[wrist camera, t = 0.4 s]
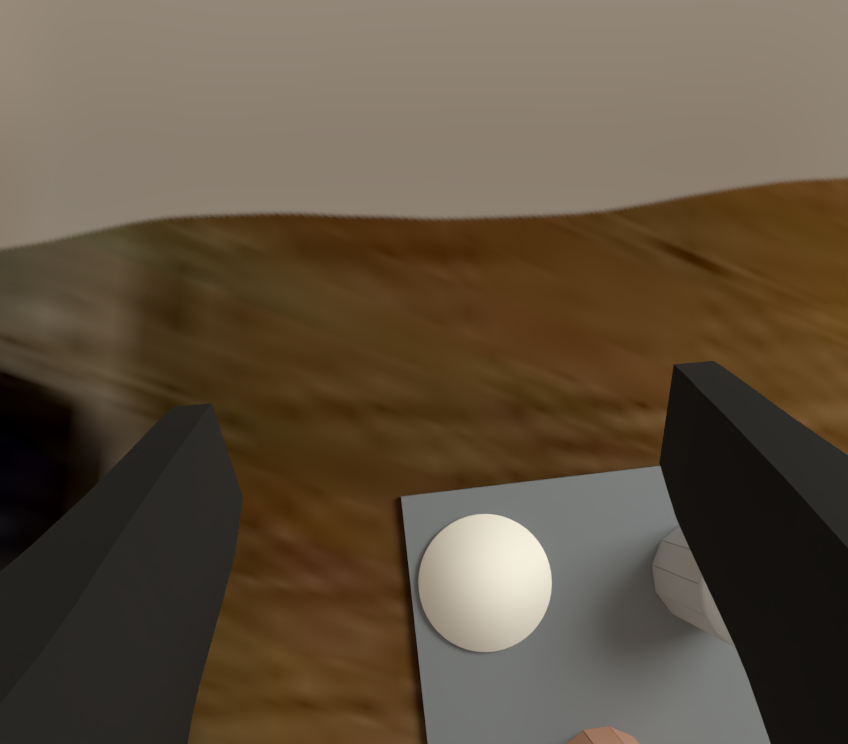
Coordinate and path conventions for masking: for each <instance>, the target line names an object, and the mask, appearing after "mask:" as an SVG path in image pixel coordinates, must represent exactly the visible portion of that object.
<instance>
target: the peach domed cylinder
mask: <svg viewBox="0 0 848 744" xmlns="http://www.w3.org/2000/svg"><path fill="white" fill-rule="evenodd" d="M566 744H640V743H639V742H638V741H637V740H636V739H635V738H634V737H633V736H631V735H628V734H626V733H624V732H621V731H619V730H617V729H615V728H612V727H610V726H606V727H600V728H593V729H586V730H582V731H581V732H580V733H579V734H577V735H576V736H575V737H574V738H573V739H571V740H570V741H569V742H568V743H566Z"/></svg>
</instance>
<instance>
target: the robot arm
mask: <svg viewBox="0 0 848 744" xmlns="http://www.w3.org/2000/svg"><path fill="white" fill-rule="evenodd" d="M660 467H661V470H662V473H663V477H664V480H665V484H666V487H667V490H668V494H669V497H670V500H671V503H672V506H673V509H674V513H675V516H676V519H677V521H678V524H679V526H680V528H681V530H682V533H683V535H684V537H685V539H686V541H687V544H688V546H689V548H690V550H691V552H692V555H693V557H694V559H695V561H696V563H697V566H698V568H699V570H700V572H701V574H702V576H703V579H704V581H705V583H706V585H707V587H708V589H709V591H710V594H711V596H712V598H713V600H714V602H715V604H716V606H717V609H718V611H719V613H720V615H721V617H722V619H723V622H724V624H725V626H726V628H727V630H728V632H729V634H730V637H731V639H732V641H733V643H734V645H735V648H736V650H737V652H738V655H739V657H740V660H741V662H742V664H743V667H744V669H745V672H746V674H747V677H748V679H749V682H750V685H751V688H752V691H753V694H754V697H755V700H756V703H757V706H758V708H759V711H760V714H761V717H762V720H763V723H764V726H765V729H766V732H767V734H768V737H769V740H770V743H771V744H848V455H847V454H845V453H844V452H842V451H841V450H839V449H838V448H836V447H835V446H833V445H832V444H830V443H829V442H827V441H826V440H824V439H823V438H821V437H820V436H818V435H817V434H815V433H814V432H813V431H811V430H810V429H808V428H807V427H805V426H804V425H803V424H801V423H800V422H798V421H797V420H795V419H794V418H793V417H791V416H790V415H788V414H787V413H786V412H784V411H783V410H781V409H780V408H779V407H777V406H776V405H775V404H773V403H772V402H771V401H769V400H768V399H766V398H765V397H764V396H762V395H761V394H760V393H758V392H757V391H755V390H754V389H753V388H751V387H750V386H749V385H747V384H746V383H744V382H743V381H742V380H740V379H739V378H738V377H736V376H735V375H733V374H732V373H731V372H729V371H728V370H726V369H725V368H723V367H722V366H720V365H719V364H718V363H716V362H714V361H709V362H697V363H686V364H674V367H673V374H672V381H671V387H670V394H669V401H668V408H667V415H666V422H665V429H664V436H663V443H662V450H661V456H660ZM241 503H242V495H241V492H240V488H239V485H238V482H237V479H236V476H235V473H234V470H233V467H232V464H231V461H230V458H229V455H228V452H227V449H226V446H225V443H224V440H223V437H222V434H221V431H220V428H219V425H218V421H217V418H216V415H215V412H214V409H213V406H212V404H201V405H189V406H177V407H173V408H172V409H171V410H170V411H169V412H167V413H166V414H165V415H164V416H163V417H162V418H161V419H160V420H159V421H158V422H157V423H156V424H155V425H154V426H153V427H152V428H151V429H150V430H149V431H148V432H147V433H146V434H145V435H144V437H143V438H142V439H141V440H140V441H139V442H138V443H137V444H136V445H135V446H134V447H133V448H132V449H131V450H130V451H129V452H128V453H127V454H126V455H125V456H124V457H123V458H122V459H121V460H120V461H119V462H118V463H117V464H116V465H115V466H114V467H113V468H112V469H111V470H110V471H109V472H108V473H107V474H106V475H105V476H104V477H103V478H102V479H101V480H100V481H99V482H98V483H97V484H96V485H95V486H94V487H93V488H92V489H91V490H90V491H89V492H88V493H87V494H86V495H85V496H84V497H83V498H82V499H81V500H80V501H79V502H78V503H77V504H76V505H75V506H74V507H73V508H72V509H70V510H69V511H68V512H67V513H66V514H65V515H64V516H63V517H62V518H61V519H60V520H59V521H57V522H56V523H55V524H54V525H53V526H52V527H51V528H50V529H49V530H48V531H47V532H46V533H44V534H43V535H42V536H41V537H40V538H39V539H38V540H37V541H36V542H35V543H34V544H33V545H31V546H30V547H29V548H28V549H27V550H26V551H25V552H23V553H22V554H21V555H20V556H19V557H18V558H16V559H15V560H14V561H13V562H12V563H10V564H9V565H8V566H7V567H6V568H4V569H3V570H2V571H1V572H0V744H187V743H188V737H189V731H190V725H191V719H192V714H193V710H194V706H195V701H196V697H197V693H198V688H199V684H200V681H201V677H202V673H203V670H204V666H205V662H206V659H207V655H208V652H209V648H210V644H211V641H212V637H213V633H214V630H215V626H216V623H217V619H218V615H219V612H220V608H221V604H222V601H223V597H224V593H225V590H226V586H227V582H228V578H229V575H230V571H231V567H232V563H233V559H234V555H235V549H236V542H237V535H238V529H239V520H240V512H241Z"/></svg>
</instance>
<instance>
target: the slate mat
mask: <svg viewBox="0 0 848 744" xmlns="http://www.w3.org/2000/svg"><path fill="white" fill-rule="evenodd" d="M401 503H402V512H403V521H404V531H405V540H406V549H407V558H408V568H409V577H410V586H411V595H412V605H413V614H414V623H415V633H416V642H417V651H418V660H419V670H420V679H421V688H422V698H423V707H424V716H425V725H426V735H427V744H566V743H568V742H569V741H570V740H571V739H573V738H574V737H575V736H576V735H577V734H579V733H580V732H581V731H582V730H586V729H593V728H600V727H606V726H610V727H612V728H615V729H617V730H619V731H621V732H624V733H626V734H628V735H631V736H633V737H634V738H635V739H636V740H637V741H638V742H639V743H640V744H771V743H770V740H769V737H768V734H767V732H766V729H765V726H764V723H763V720H762V717H761V714H760V711H759V708H758V706H757V703H756V700H755V697H754V694H753V691H752V688H751V685H750V682H749V679H748V677H747V674H746V672H745V669H744V667H743V664H742V662H741V660H740V657H739V655H738V652H737V650H736V648H735V646H733V645H730V644H728V643H726V642H724V641H721V640H720V639H718V638H716V637H714V636H712V635H710V634H709V633H707V632H705V631H703V630H701V629H699V628H698V627H696V626H694V625H692V624H690V623H688V622H687V621H685V620H683V619H681V618H679V617H677V616H676V615H674V614H672V613H671V612H670V610H669V609H668V608H667V606H666V605H665V604H664V602H663V601H662V600H661V598H660V597H659V596H658V594H657V593H656V590H655V583H654V576H653V569H652V563H653V561H654V558H655V555H656V553H657V550H658V548H659V545H660V542H661V541H662V539H663V538H665V537H666V536H667V535H668V534H670V533H671V532H672V531H673V530H675V529H676V528H677V527H678V526H679V524H678V521H677V519H676V516H675V513H674V509H673V506H672V503H671V500H670V497H669V494H668V490H667V487H666V484H665V480H664V477H663V473H662V470H661V467H660V466H653V467H645V468H636V469H628V470H619V471H611V472H603V473H594V474H586V475H577V476H569V477H560V478H552V479H544V480H535V481H527V482H518V483H510V484H501V485H493V486H485V487H476V488H468V489H459V490H451V491H442V492H434V493H426V494H417V495H409V496H401Z"/></svg>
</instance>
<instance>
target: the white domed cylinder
mask: <svg viewBox="0 0 848 744" xmlns="http://www.w3.org/2000/svg"><path fill="white" fill-rule="evenodd" d="M652 569H653V576H654V583H655V590H656V593H657V594H658V596H659V597H660V598H661V600H662V601H663V602H664V604H665V605H666V606H667V608H668V609H669V610H670V612H671V613H672V614H674V615H676V616H677V617H679V618H681V619H683V620H685V621H687V622H688V623H690V624H692V625H694V626H696V627H698V628H699V629H701V630H703V631H705V632H707V633H709V634H710V635H712V636H714V637H716V638H718V639H720V640H721V641H724V642H726V643H728V644H730V645H733V646H735V645H734V643H733V641H732V639H731V637H730V634H729V632H728V630H727V628H726V626H725V624H724V622H723V619H722V617H721V615H720V613H719V611H718V609H717V606H716V604H715V602H714V600H713V598H712V596H711V594H710V591H709V589H708V587H707V585H706V583H705V581H704V579H703V576H702V574H701V572H700V570H699V568H698V566H697V563H696V561H695V559H694V557H693V555H692V552H691V550H690V548H689V546H688V544H687V541H686V539H685V537H684V535H683V533H682V530H681V528H680V526H678V527H677V528H676V529H675V530H673V531H672V532H671V533H670V534H668V535H667V536H666V537H665V538H663V539H662V541H661V542H660V545H659V548H658V550H657V553H656V555H655V558H654V561H653V563H652Z"/></svg>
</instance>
